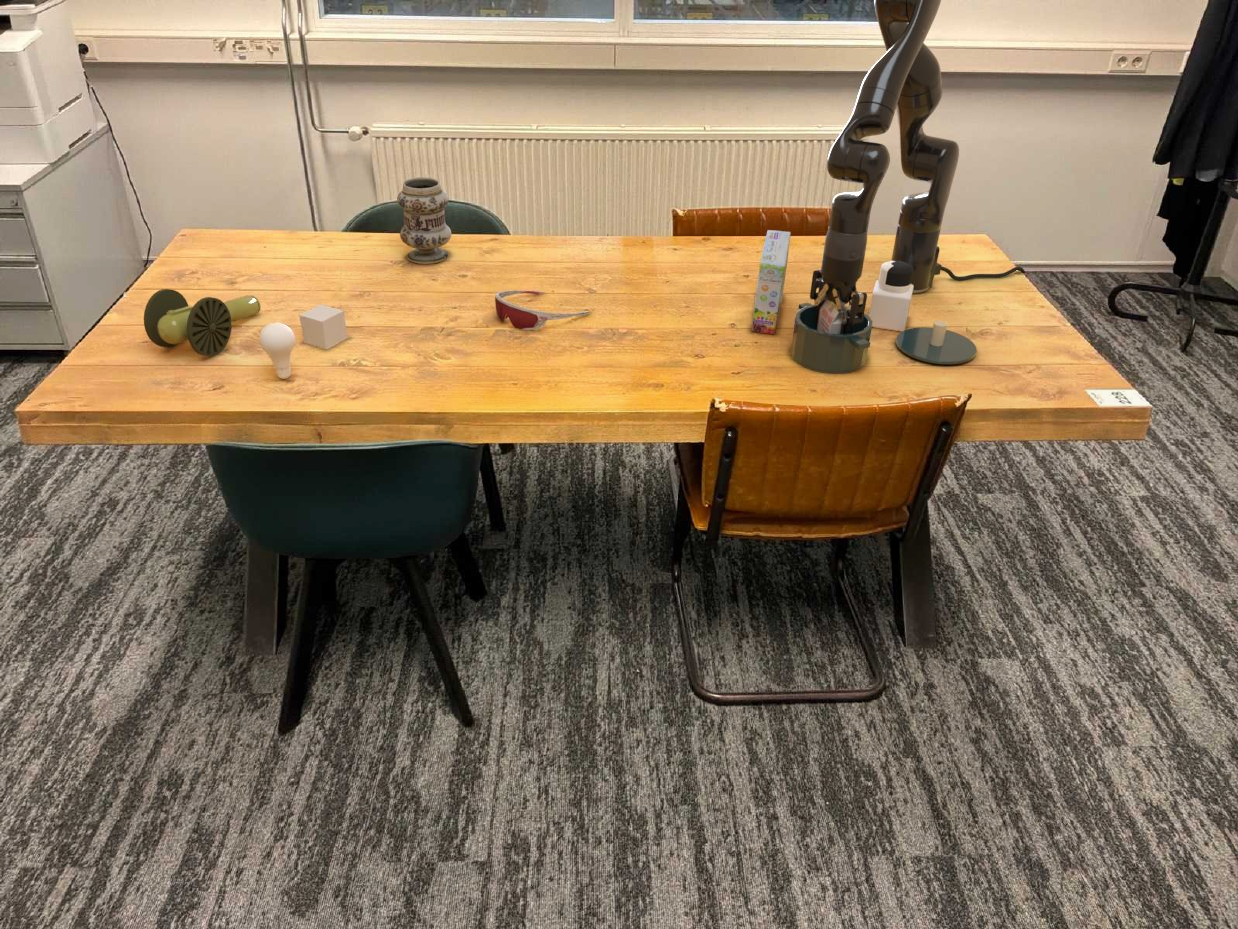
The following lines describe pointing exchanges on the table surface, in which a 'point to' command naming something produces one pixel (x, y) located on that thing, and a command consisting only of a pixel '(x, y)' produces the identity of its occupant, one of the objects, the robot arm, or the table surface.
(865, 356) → the cooking pot
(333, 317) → the grey cube
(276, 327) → the lightbulb
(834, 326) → the white carton
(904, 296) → the container
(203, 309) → the cannon
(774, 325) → the snack box
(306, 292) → the table surface
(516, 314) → the sunglasses
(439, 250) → the apothecary jar
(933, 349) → the lid
